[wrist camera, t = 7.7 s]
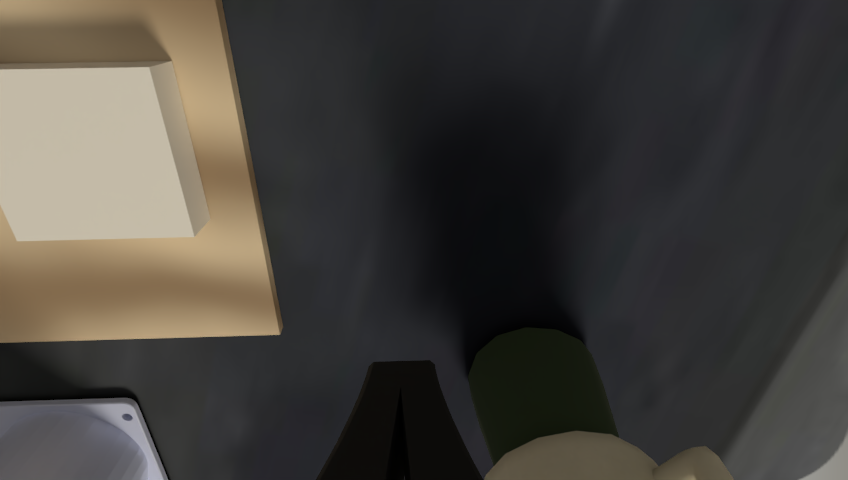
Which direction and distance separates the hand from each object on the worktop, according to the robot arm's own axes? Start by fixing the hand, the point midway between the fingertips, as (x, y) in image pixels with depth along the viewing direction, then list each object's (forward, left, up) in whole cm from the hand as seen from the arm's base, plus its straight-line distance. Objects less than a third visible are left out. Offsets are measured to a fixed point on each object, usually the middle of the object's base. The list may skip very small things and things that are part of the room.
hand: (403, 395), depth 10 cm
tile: (+3, +8, -9) cm, 12 cm away
